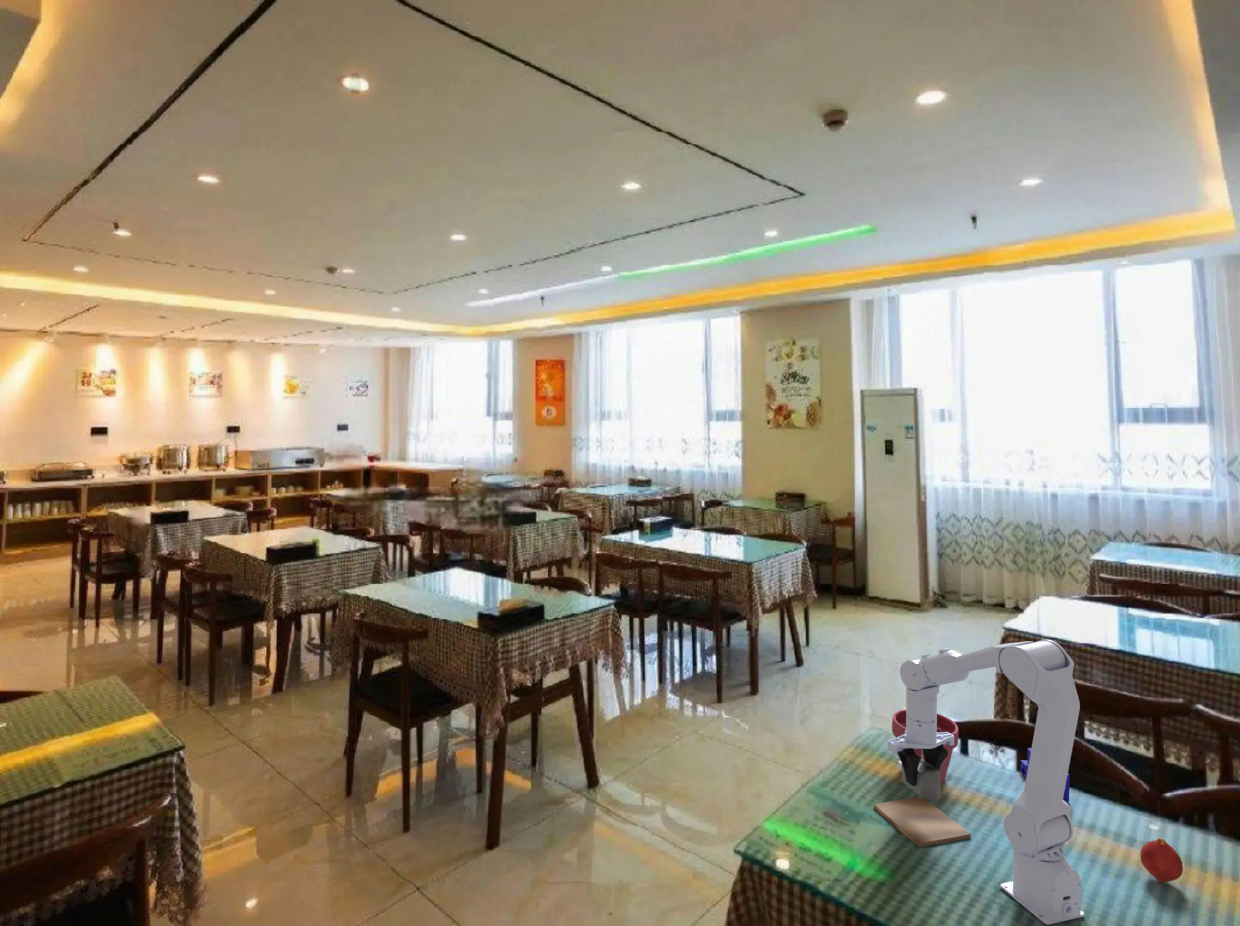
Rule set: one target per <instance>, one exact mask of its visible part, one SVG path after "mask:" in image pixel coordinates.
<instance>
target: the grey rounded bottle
mask: <svg viewBox="0 0 1240 926" xmlns="http://www.w3.org/2000/svg"><path fill="white" fill-rule="evenodd" d="M897 769H899V770H900V771H901V782H902V784H904V785H905V786H906V787H908V789H910V790H912V791H913V792H915V794H917V795H918V797H920V796H921V797H922V798H924V799H926V800H927V801H939V800H940V799H941V783H940V771H939V770H938V769H936V768H935V767H933V766H932V765H930V764H929V763H927V762H926V761H925V760H923V759H922V758H921V760H920V762H919V766H918V771H917V783H916V786H912V785H911V784H909V783H908V782H907V780H906V776H905V772H904V768H903V765H902V763H901V760H898V761H897Z"/></svg>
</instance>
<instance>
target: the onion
mask: <svg viewBox="0 0 1240 926" xmlns="http://www.w3.org/2000/svg"><path fill="white" fill-rule="evenodd" d="M1140 861H1141V864H1142V866H1143V867H1144V870H1146V871H1147V872H1148V873H1149V874H1150V875H1151V876H1152V877H1154V878H1155V880H1156V881H1157V882H1159V883H1161V884H1164V883H1169V882H1172V881H1176V880H1178V879H1180V877H1181V876H1182V875H1183V872H1184V867H1183V866H1184V865H1183V861H1182V858H1181V857H1180V855H1179V854H1178V852H1177V851H1176V850H1175V849H1174V847H1172V845H1170V843H1169V844H1168V842H1167V841H1166V840H1165V839H1164V838H1163V837H1158V838H1157V839H1156V840H1150V841H1148V842H1147V843H1145V844H1144V845H1143V846H1142V847H1141V849H1140Z"/></svg>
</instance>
